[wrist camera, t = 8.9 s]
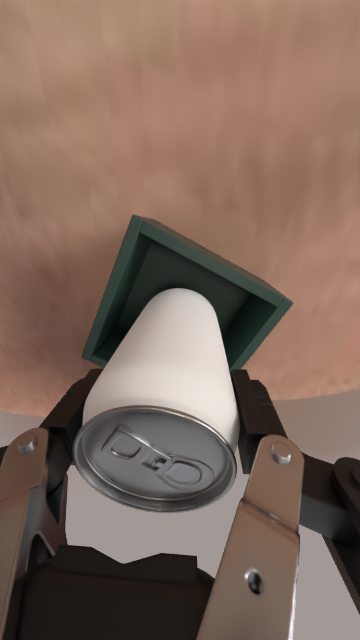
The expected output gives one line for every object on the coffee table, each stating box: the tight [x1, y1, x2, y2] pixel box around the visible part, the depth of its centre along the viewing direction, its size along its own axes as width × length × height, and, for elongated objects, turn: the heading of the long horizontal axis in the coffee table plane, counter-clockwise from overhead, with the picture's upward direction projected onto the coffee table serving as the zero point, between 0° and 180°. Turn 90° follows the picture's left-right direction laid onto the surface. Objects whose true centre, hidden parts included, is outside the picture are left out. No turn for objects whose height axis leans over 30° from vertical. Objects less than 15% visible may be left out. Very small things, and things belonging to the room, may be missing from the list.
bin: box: [82, 215, 293, 374], centre depth 19 cm, size 13×13×7 cm
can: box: [72, 288, 240, 513], centre depth 12 cm, size 6×6×12 cm
